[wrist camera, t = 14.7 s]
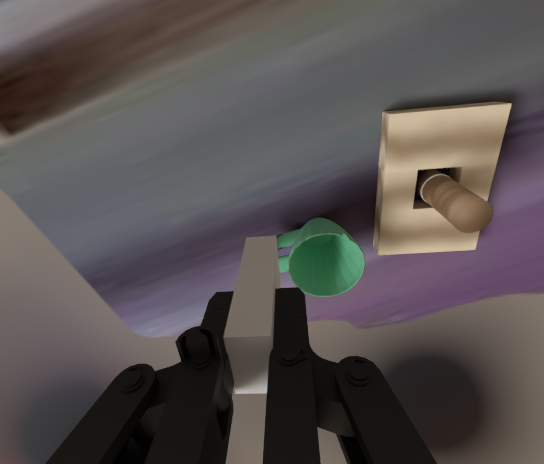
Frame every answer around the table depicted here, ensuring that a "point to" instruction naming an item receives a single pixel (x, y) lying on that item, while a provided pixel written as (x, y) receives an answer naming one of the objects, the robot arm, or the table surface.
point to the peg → (453, 201)
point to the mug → (321, 258)
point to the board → (431, 155)
